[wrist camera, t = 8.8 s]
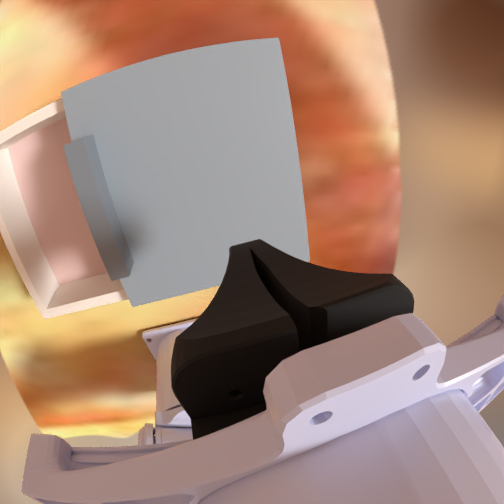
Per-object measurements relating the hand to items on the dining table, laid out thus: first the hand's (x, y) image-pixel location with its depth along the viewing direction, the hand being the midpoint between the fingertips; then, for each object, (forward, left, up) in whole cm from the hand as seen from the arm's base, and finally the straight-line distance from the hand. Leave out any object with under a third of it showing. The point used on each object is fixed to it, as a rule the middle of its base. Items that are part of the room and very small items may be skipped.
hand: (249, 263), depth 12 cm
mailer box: (+3, +10, -10) cm, 15 cm away
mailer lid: (+3, +2, -6) cm, 7 cm away
